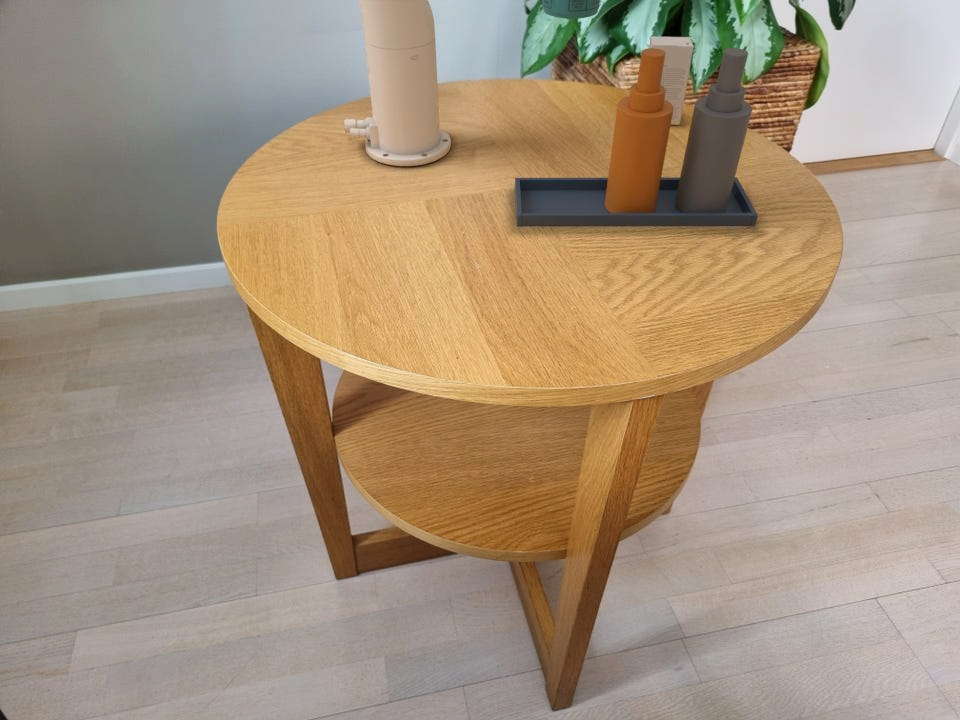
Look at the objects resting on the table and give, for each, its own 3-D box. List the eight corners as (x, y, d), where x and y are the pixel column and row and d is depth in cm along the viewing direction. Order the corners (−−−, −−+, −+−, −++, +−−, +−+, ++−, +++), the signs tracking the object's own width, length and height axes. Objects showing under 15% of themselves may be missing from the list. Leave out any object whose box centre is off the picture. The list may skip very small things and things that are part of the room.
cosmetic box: (677, 114, 112) (691, 36, 104) (679, 126, 109) (695, 46, 101) (638, 113, 113) (650, 35, 105) (640, 124, 110) (652, 44, 102)
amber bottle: (608, 219, 87) (628, 62, 74) (601, 193, 92) (620, 42, 79) (659, 219, 87) (689, 62, 74) (650, 193, 92) (677, 42, 79)
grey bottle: (680, 219, 87) (713, 62, 74) (670, 193, 92) (700, 42, 79) (732, 218, 87) (774, 61, 74) (719, 193, 92) (756, 41, 79)
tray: (516, 231, 86) (517, 215, 85) (514, 193, 94) (515, 177, 92) (753, 231, 86) (758, 215, 85) (732, 192, 93) (737, 177, 92)
